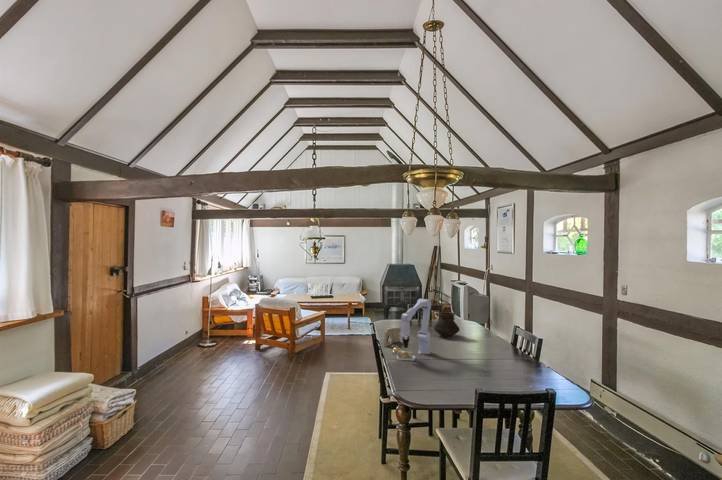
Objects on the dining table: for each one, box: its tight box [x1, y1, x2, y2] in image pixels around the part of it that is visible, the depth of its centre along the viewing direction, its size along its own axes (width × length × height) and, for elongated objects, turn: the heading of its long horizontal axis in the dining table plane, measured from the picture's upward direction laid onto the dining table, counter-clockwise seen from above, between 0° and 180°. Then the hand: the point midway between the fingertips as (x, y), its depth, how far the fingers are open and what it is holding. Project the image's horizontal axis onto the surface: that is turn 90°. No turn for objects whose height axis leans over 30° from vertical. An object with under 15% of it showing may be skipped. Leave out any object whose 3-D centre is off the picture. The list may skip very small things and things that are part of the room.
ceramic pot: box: [433, 311, 461, 338], centre depth 360 cm, size 24×24×22 cm
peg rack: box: [396, 354, 416, 362], centre depth 289 cm, size 14×8×4 cm, turn 82°
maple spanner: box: [397, 350, 413, 358], centre depth 289 cm, size 11×4×4 cm, turn 82°
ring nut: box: [392, 344, 401, 352], centre depth 306 cm, size 8×6×3 cm
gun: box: [382, 326, 402, 348], centre depth 332 cm, size 24×3×15 cm, turn 143°
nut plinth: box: [390, 348, 403, 355], centre depth 305 cm, size 9×9×1 cm
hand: (406, 346), depth 289 cm, fingers open, 7 cm apart
